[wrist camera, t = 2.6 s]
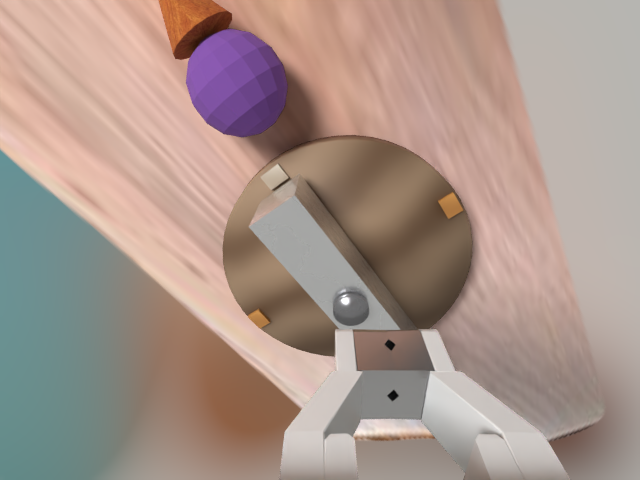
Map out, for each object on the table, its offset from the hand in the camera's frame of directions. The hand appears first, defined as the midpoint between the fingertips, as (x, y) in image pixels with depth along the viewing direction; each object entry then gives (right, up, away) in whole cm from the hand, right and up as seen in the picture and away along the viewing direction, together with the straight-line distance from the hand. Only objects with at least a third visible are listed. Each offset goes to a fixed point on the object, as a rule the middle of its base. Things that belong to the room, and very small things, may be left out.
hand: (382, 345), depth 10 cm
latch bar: (0, +1, +17) cm, 17 cm away
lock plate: (0, +2, +19) cm, 20 cm away
